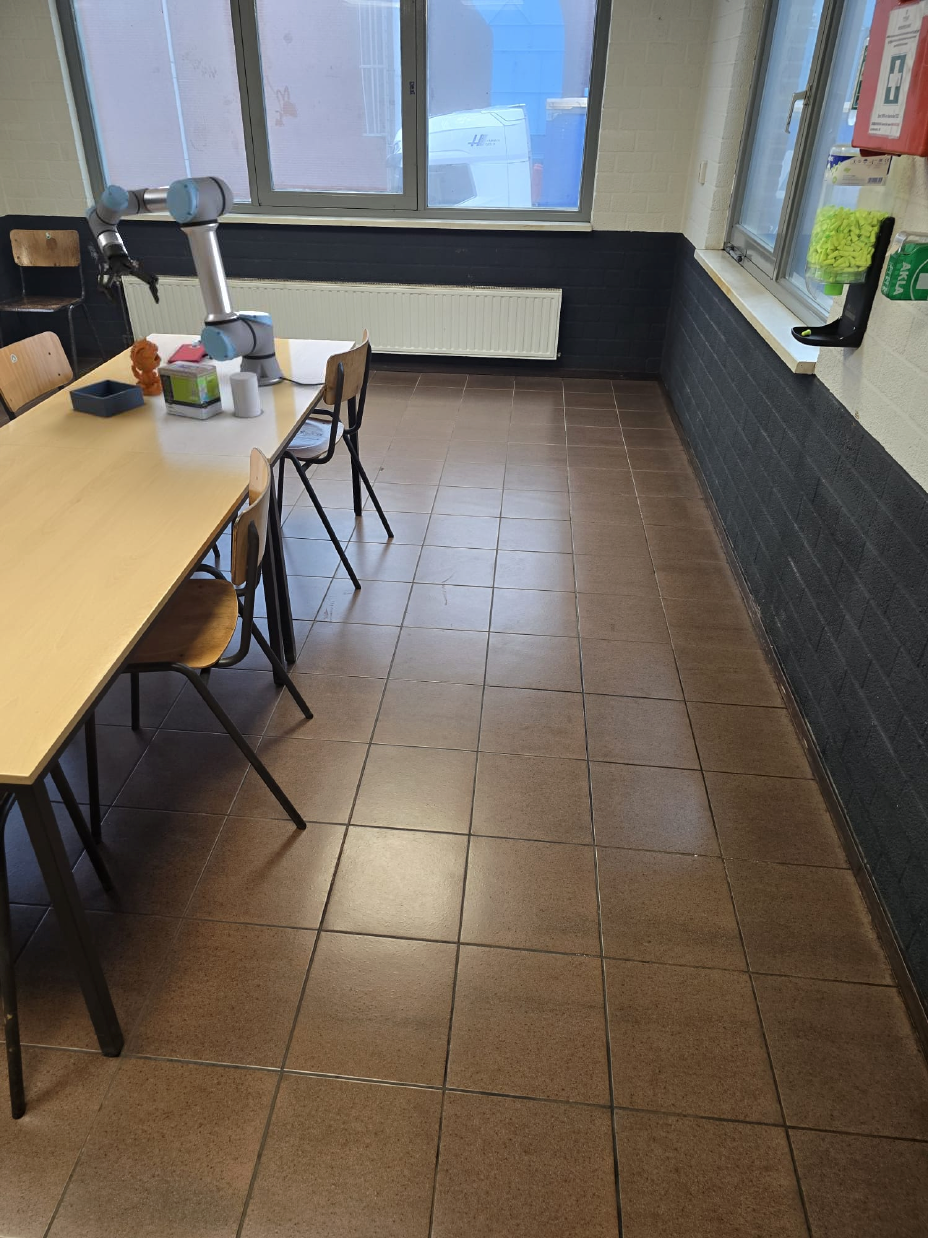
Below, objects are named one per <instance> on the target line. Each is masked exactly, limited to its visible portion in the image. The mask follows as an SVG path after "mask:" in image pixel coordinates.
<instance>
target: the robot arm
mask: <svg viewBox="0 0 928 1238" xmlns="http://www.w3.org/2000/svg"><path fill="white" fill-rule="evenodd" d="M234 202H235V197H234V192H233V189H232V188H231V186H230V184H229V183H228V182H227V181H226V180H225V179H224V178H222V177H219V176H214V175H213V176H212V175H210V176H200V177H199V176H198V177H185V178H182V179H181V178H179V179H177V180H174V181H173V182H171V184H170V185H169V186H162V187H160V186H159V187H144V188H138V189H129V190H126V189H124V188H123V187H121V186H120V185H116V184H109V185H108V186H107V187H106V188H105V189H104V191H103V192H102V194H101V198H100V200H99V202H98V204H94V205H91V206H90V208H89V207H88V209H86V211H85V216H86V219H87V222H88V225H89V228H90V229H91V231H92V233H93V235H94V238H95V239H96V241H97V244H98V246H99V249H100V251H101V253H102V255H103V257H104V259H105V262H106V263H104V261H99V263H98V269H99V279H98V288H97V290H98V291H99V292H103V293H104V294H105V295H106V297H107V299H108V300H112V303H113V305H114V307H115V309H116V310H119V309H120V303H119V300H118V297H117V296H116V293H115V291H114V289H113V287H112V285H113V282H114V281H115V279H116V277H117V276H119V277H122V276H129V275H130V276H132V277H135V278H137V279H138V280H140V281H141V282H143V283H144V284H146V285H147V286H148V289H149V291H150V293H151V296H152V298H153V300H154V302H155V304H156V305H159V303H160V297H159V294H158V293H159V289H158V287H157V285H159V280H160V278H159V277H158V276H157V275H156V273H154V272H153V271H152V270H151V269H149V267H147V266H146V265H145V264H144V263H143V262H142V260H141V258H139V257H137V258H136V259H135V260H131V258H130V256H129V254H128V252H127V249H126V247H125V245H124V243H123V240H122V238H121V236H120V234H119V231H118V230H117V226H118V224H119V222H120V221H121V218H122V217H128V216H137V215H144V214H157V213H168V214H169V215H170V216H171V217H172V219H173V220H174V221H176V222H177V223H179V227H180V229H181V230H182V231H183V232H184V233H185V234H186V235H187V238H188V241H189V246H190V250H191V255H192V258H193V263H194V267H195V271H196V274H197V278H198V279H197V280H198V282H199V288H200V291H201V295H202V299H203V303H204V307H205V311H206V315H205V316H204V318H203V324H204V328H202V330H201V332H200V340H201V343H202V346H203V348H204V349H205V351H206V353H207V354H208V355H210V356H211V357H212V358H213V359H212V360H215V361H217V362H227V361H233V360H235V359H237V358H240V357H241V363H240V365H239V372H252V373H255V374H256V376H257V384H258V387H265V386H272V385H276V384H279V383H280V382H281V383H282V381H287V382H290V383H292V384H295V385H298V386H303V387H318V386H325V385H324V384H325V383H326V382H318V383H302V382H299V381H295V380H292V379H289V378H287V377H284V373H283V370H282V369H281V367H280V364H279V361H278V359H277V355H276V348H275V347H276V346H275V344H276V343H275V333H274V325H273V320H272V317H271V315H270V314H268V313H266V312H261V311H251V310H250V311H249V310H248V311H245V310H244V311H237V312H236V311H235V310H234V307H233V306H234V305H233V303H232V298H231V293H230V290H229V284H228V280H227V277H226V272H225V267H224V263H223V259H222V253H221V250H220V246H219V241H218V237H217V233H216V231H217V228H218V226H219V220H218V218H220V217H221V218H222V217H223V216H225V215H227V214H228V213H229V212H231V210H232V208H233V207H234ZM107 270H109V271H111V272H110V274H109V276H108V278H107V280H106V282H105V284H104V278H105V272H106V271H107Z"/></svg>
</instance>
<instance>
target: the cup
mask: <svg viewBox="0 0 928 1238" xmlns="http://www.w3.org/2000/svg"><path fill="white" fill-rule="evenodd" d="M229 382H230V389H231V396H232V403H233V411H234V415H235V416H236V417H239V418H253V417H257V416H260V415H261V414H262V408H261V401H260V393H259V386H258V384H257V376H256V374H255V373H252V372H240V371H238V372H234V373H231V374H230V375H229Z"/></svg>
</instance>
